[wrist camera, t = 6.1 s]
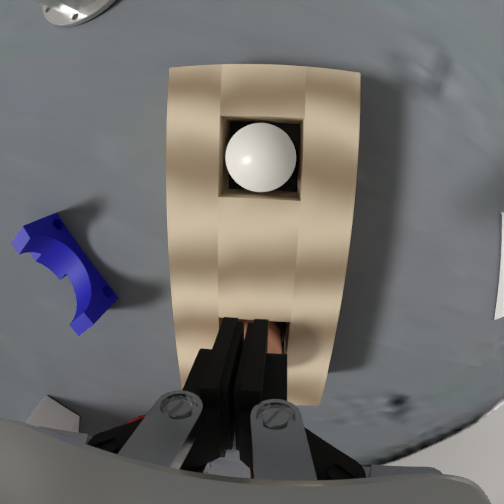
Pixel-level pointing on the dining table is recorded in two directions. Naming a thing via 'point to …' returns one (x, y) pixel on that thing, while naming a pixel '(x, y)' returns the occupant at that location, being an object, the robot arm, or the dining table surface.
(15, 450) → the robot arm
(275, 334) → the peach rounded piece
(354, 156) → the housing
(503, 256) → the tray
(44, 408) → the milk carton
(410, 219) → the dining table surface
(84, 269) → the cable clip
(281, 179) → the white domed cylinder
